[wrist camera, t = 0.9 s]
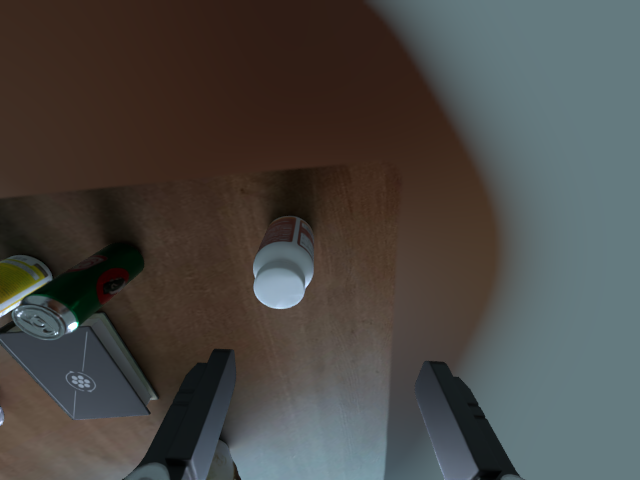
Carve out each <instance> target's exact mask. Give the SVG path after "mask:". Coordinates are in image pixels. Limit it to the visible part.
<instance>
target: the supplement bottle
mask: <svg viewBox="0 0 640 480" xmlns="http://www.w3.org/2000/svg"><path fill="white" fill-rule="evenodd" d="M51 280H52V274H51V272H50V270H49V268H48V267H47V266H46V265H45V264H44V263H42V262H41V261H39V260H37V259H35V258H33V257H30V256H26V255H15V256H11V257H9V258H6V259H4V260H2V261H0V317H1V316H3V315H5V314H6V313H8V312H9V311H11V310H12V309H14V308H16V307H17V306H19V304H20V301H21V300H22V299H23V298H24V297H25V296H27V295H28V294H30V293H32V292H33V291H35V290H36V289H38V288H40V287H41V286H43V285H45V284H46V283H48V282H49V281H51Z"/></svg>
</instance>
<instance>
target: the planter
mask: <svg viewBox="0 0 640 480" xmlns="http://www.w3.org/2000/svg"><path fill="white" fill-rule="evenodd" d="M3 421H4V412H3V409H2V408H1V406H0V426H1V425H2V423H3Z"/></svg>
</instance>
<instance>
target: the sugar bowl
mask: <svg viewBox="0 0 640 480" xmlns="http://www.w3.org/2000/svg"><path fill="white" fill-rule="evenodd" d="M206 480H241V478H240V476H239V474H238V471H237V467H236V465H235V463H234V461H233V459H232V457H231V454H230V451H229V448H228V446H227V444H226V443H224V442H223V441H220V440H218V443H217V446H216V449H215V452H214V456H213V459H212V462H211V465H210V469H209V472H208V475H207V478H206Z"/></svg>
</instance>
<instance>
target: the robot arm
mask: <svg viewBox="0 0 640 480" xmlns="http://www.w3.org/2000/svg"><path fill="white" fill-rule="evenodd" d="M235 381H236V365H235V354H234V350H231V349H214V350H213V352H212V353H211V356H210V358H209V360H208V362H207V363H197V364H196V365H195V366H194V367H193V368H192V369H191V370H190V371H189V372H188V374H187V375H186V376H185V378H184V380H183V382H182V384H181V386H180V388H179V392H177V394H176V396H175V398H174V400H173V404H171V406H170V408H169V410H168V412H167V414H166V416H165V418H164V420H163V422H162V424H161V426H160V428H159V430H158V432H157V434H156V436H155V438H154V440H153V441H152V443H151V445H150V447H149V449H148V451H147V453H146V455H145V457H144V458H143V460H142V461H141V462H140V464H139V465H138V466H137V467H136V468H135V469H134V470H133V471H132V472H131V473H130V474H129V475H128V476H126V477H125V478H124V479H122V480H206V478H207V475H208V472H209V469H210V465H211V462H212V459H213V456H214V452H215V449H216V446H217V443H218V439H219V436H220V433H221V429H222V426H223V423H224V420H225V416H226V413H227V410H228V407H229V403H230V400H231V397H232V394H233V390H234V387H235ZM415 395H416V399H417V402H418V405H419V407H420V411H421V413H422V416H423V419H424V422H425V425H426V428H427V431H428V433H429V436H430V439H431V442H432V445H433V448H434V451H435V453H436V456H437V459H438V462H439V464H440V468H441V470H442V473H443V476H444V479H445V480H525V479H523V478H521V477H520V476H519V474H518V473H517V472H516V470H515V468H514V467H513V465H512V463H511V461H510V460H509V458H508V456H507V454H506V453H505V451H504V449H503V447H502V445H501V443H500V442H499V440H498V438H497V436H496V435H495V433H494V431H493V429H492V427H491V426H490V424H489V422H488V420H487V419H486V418H485V415H484V413H483V411H482V410H481V408H480V407H479V406H478V402H477V401H476V399H475V397H474V395H473V393H472V392H471V390H470V389H469V388H468V386H467V385H466V384H465V383H464V382H463V381H462V380H461V379H460V378H459V377H453V375H452V373H451V371H450V369H449V368H448V366H447V364H446V363H444V362H437V361H425V362H424V363H423V366H422V368H421V370H420V373H419V376H418V378H417V380H416V383H415Z"/></svg>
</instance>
